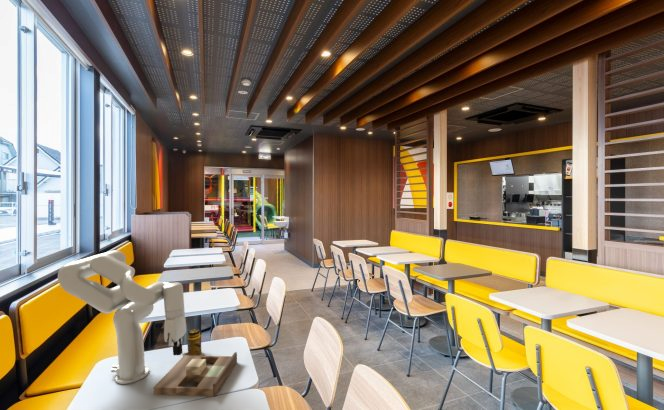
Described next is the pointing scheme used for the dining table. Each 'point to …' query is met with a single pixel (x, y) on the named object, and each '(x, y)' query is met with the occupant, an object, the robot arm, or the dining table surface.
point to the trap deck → (197, 377)
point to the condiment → (194, 343)
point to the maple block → (195, 366)
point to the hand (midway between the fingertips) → (177, 354)
